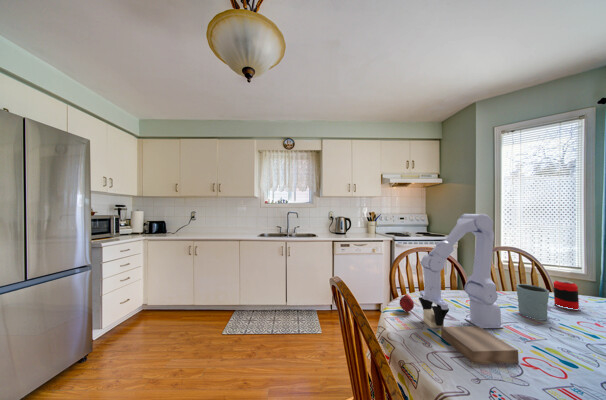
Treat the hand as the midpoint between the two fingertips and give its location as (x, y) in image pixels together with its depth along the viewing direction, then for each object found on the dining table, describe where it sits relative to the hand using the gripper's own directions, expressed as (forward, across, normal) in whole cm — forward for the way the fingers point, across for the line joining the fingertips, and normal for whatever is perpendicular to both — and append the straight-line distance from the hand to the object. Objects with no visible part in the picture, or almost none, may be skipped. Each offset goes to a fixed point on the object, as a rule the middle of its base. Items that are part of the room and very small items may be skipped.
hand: (433, 320), depth 88 cm
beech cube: (+2, 0, 0) cm, 2 cm away
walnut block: (+2, +16, +4) cm, 17 cm away
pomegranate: (+2, -11, -5) cm, 12 cm away
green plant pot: (+2, -6, +49) cm, 49 cm away
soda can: (+2, -14, +75) cm, 76 cm away
